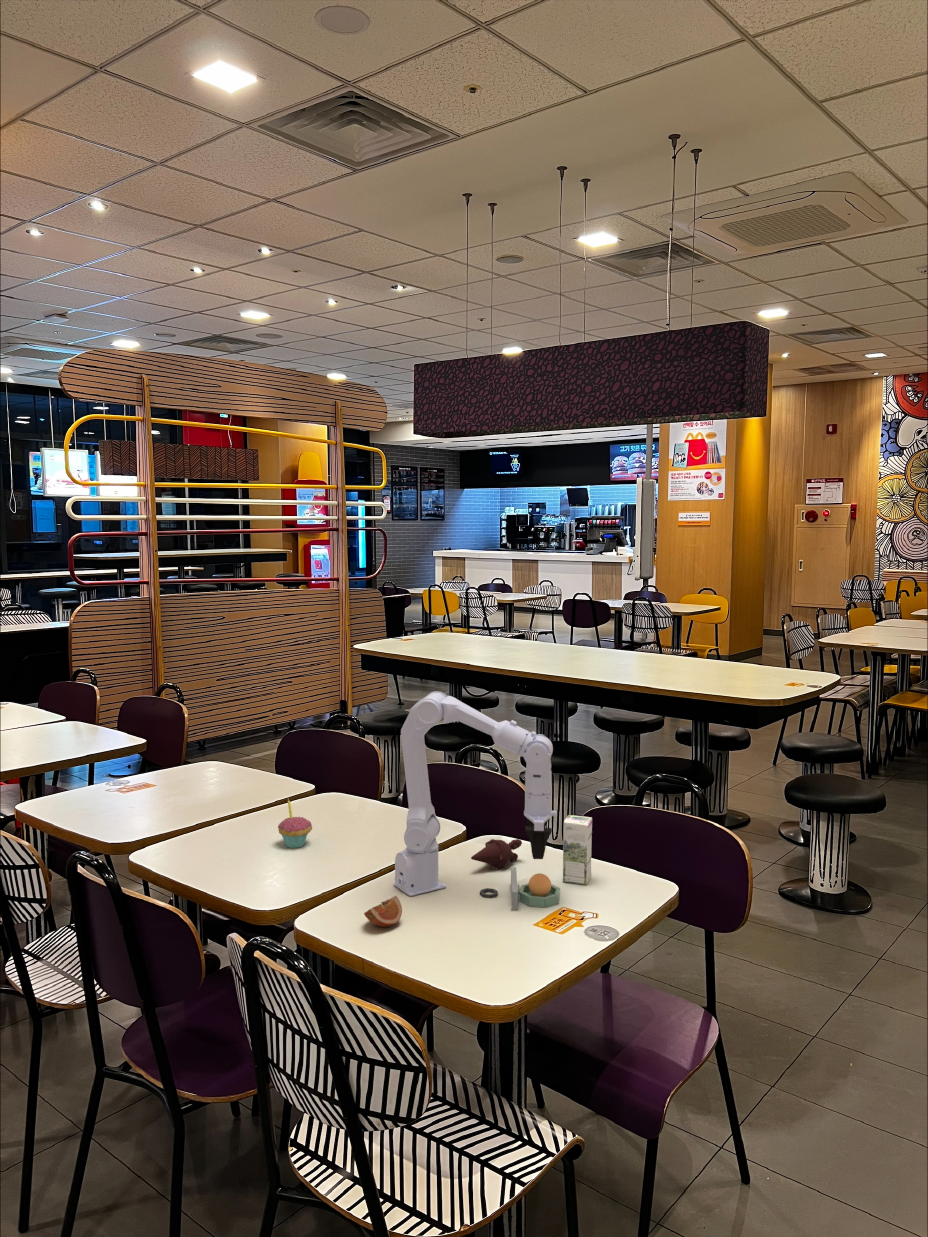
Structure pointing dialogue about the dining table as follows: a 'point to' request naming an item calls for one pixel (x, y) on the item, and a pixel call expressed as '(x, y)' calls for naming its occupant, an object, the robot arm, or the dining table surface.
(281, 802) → the dining table surface
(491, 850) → the icecream
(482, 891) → the ring
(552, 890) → the dish
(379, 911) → the fruit slice
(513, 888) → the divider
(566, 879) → the syrup box
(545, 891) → the ball
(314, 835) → the dining table surface
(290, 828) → the cupcake
